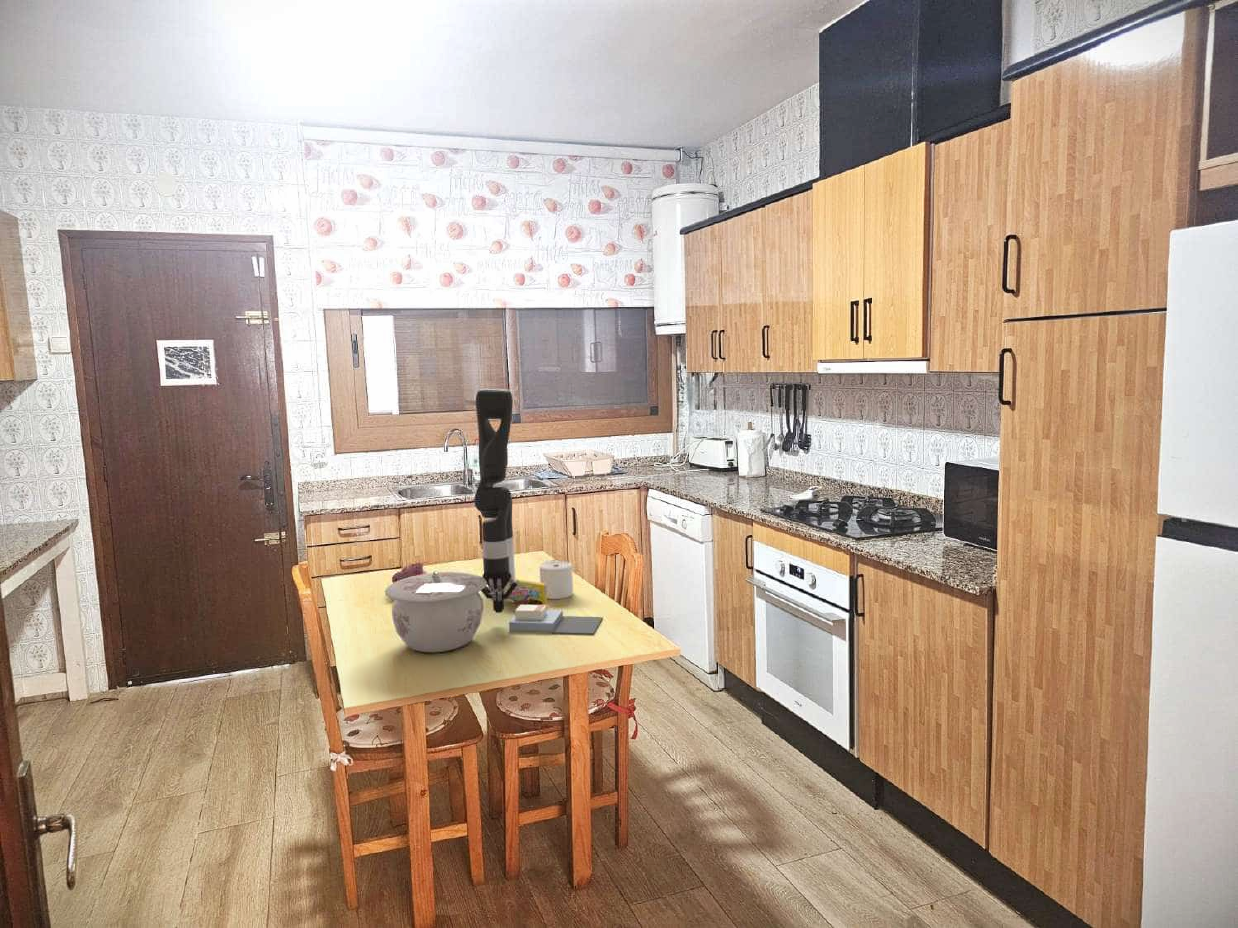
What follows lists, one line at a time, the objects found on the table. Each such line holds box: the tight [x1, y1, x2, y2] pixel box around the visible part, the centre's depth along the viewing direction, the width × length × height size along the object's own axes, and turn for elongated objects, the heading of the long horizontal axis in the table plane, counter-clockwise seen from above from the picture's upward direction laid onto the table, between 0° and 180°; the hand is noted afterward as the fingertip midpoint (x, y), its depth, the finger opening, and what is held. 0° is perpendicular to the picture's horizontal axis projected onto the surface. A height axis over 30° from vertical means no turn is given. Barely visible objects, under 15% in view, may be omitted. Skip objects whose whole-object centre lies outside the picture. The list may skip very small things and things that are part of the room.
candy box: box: [504, 578, 548, 607], centre depth 255 cm, size 16×2×8 cm, turn 62°
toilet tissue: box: [539, 558, 574, 600], centre depth 266 cm, size 11×12×10 cm
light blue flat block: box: [508, 609, 564, 633], centre depth 237 cm, size 12×13×2 cm
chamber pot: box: [384, 570, 488, 654], centre depth 222 cm, size 28×28×21 cm
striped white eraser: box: [514, 604, 548, 619], centre depth 237 cm, size 6×8×3 cm
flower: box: [391, 561, 428, 584], centre depth 273 cm, size 15×15×10 cm
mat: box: [551, 615, 603, 636], centre depth 235 cm, size 14×12×1 cm
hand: (498, 611), depth 239 cm, fingers closed
